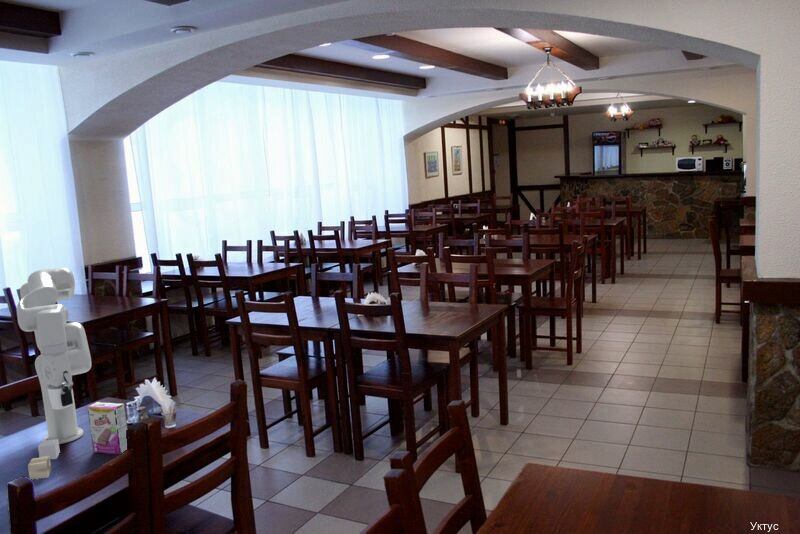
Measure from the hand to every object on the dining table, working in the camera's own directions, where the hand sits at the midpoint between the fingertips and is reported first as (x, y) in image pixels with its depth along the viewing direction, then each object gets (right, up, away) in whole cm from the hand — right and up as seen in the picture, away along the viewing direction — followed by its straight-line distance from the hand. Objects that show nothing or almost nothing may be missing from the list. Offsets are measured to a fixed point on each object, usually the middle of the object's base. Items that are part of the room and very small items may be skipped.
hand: (61, 402), depth 211 cm
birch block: (-5, -22, -3) cm, 23 cm away
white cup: (0, -1, 0) cm, 1 cm away
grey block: (-9, -20, +10) cm, 24 cm away
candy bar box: (+11, -19, +12) cm, 25 cm away
